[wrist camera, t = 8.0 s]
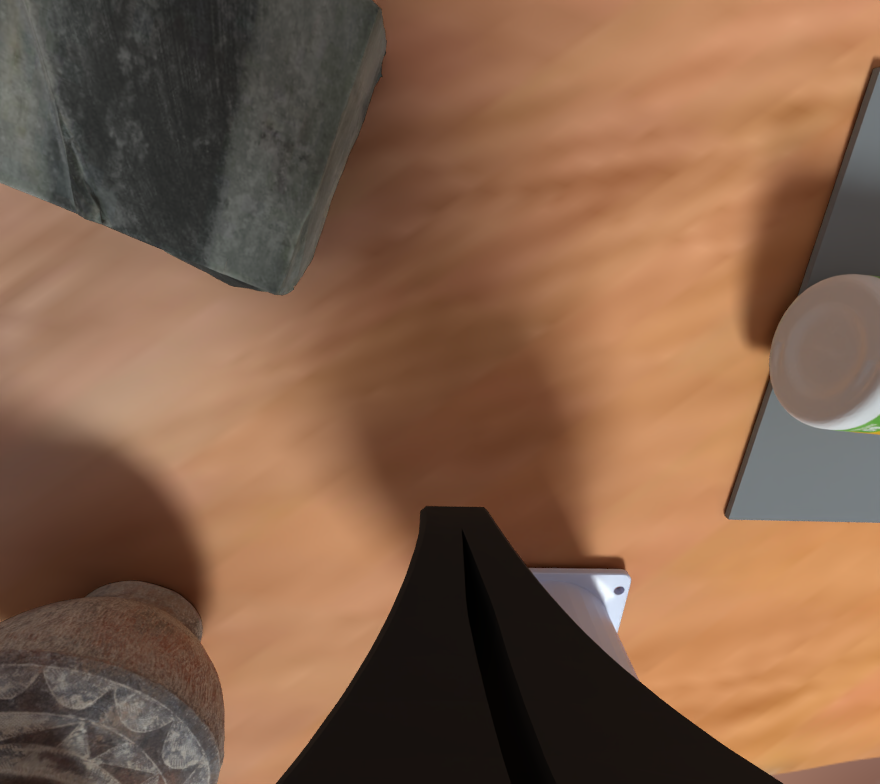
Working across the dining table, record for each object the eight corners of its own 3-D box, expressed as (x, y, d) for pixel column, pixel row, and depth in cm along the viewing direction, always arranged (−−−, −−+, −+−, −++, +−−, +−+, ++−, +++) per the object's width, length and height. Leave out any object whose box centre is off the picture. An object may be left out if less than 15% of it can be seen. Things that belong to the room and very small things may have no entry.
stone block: (300, 302, 20) (266, 345, 15) (-134, 124, 17) (-356, 105, 12) (390, 49, 17) (384, -1, 12) (-121, -225, 14) (-412, -443, 9)
